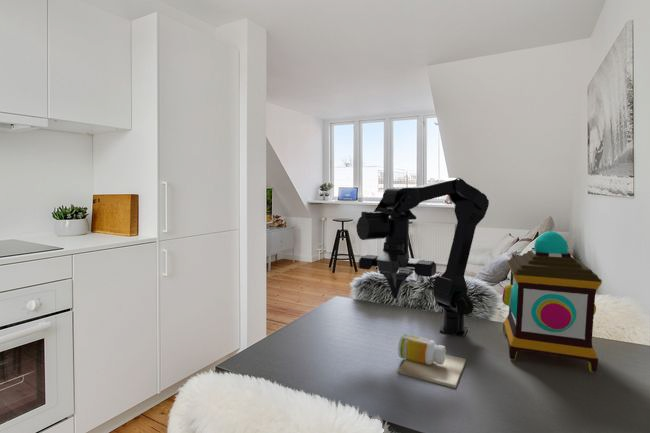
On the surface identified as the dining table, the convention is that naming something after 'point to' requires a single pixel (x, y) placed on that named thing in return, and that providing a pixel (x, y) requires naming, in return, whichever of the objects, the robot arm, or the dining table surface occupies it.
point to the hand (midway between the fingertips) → (395, 298)
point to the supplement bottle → (420, 350)
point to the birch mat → (435, 370)
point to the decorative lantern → (551, 302)
